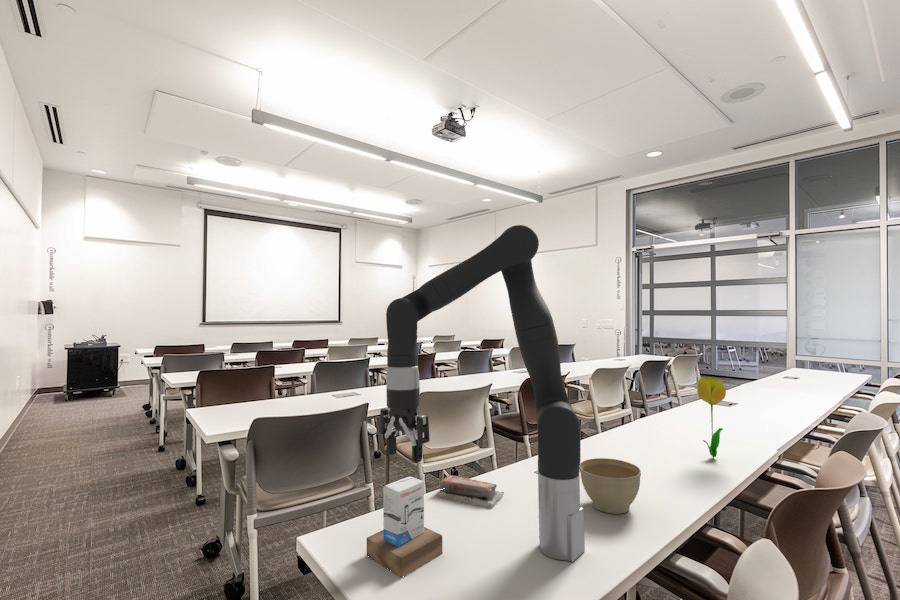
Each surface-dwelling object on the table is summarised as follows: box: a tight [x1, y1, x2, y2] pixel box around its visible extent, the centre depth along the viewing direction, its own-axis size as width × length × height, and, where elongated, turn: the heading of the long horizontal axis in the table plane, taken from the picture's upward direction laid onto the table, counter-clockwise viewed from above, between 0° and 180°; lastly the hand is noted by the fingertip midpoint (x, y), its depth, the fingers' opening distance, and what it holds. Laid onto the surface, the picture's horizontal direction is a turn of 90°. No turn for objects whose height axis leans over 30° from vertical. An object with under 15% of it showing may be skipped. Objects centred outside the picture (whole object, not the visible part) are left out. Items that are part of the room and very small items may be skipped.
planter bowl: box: [579, 457, 642, 514], centre depth 118 cm, size 16×16×11 cm
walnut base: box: [366, 526, 443, 578], centre depth 95 cm, size 12×12×4 cm
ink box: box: [382, 476, 425, 547], centre depth 95 cm, size 9×5×12 cm, turn 140°
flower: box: [696, 376, 727, 460], centre depth 156 cm, size 9×8×30 cm
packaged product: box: [436, 475, 505, 509], centre depth 126 cm, size 18×5×10 cm
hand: (404, 457), depth 95 cm, fingers open, 8 cm apart
